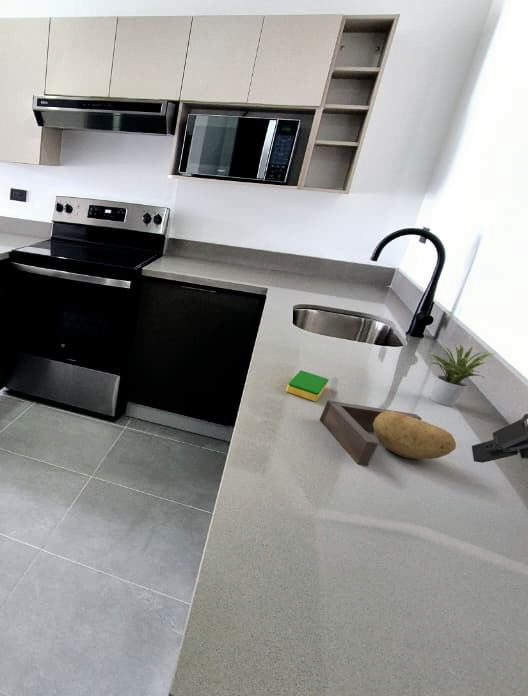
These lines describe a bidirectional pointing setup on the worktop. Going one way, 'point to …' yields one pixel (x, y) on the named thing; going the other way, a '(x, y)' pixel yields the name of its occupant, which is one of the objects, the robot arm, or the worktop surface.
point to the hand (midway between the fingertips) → (477, 454)
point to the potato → (412, 436)
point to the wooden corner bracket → (354, 427)
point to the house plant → (454, 376)
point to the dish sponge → (307, 385)
